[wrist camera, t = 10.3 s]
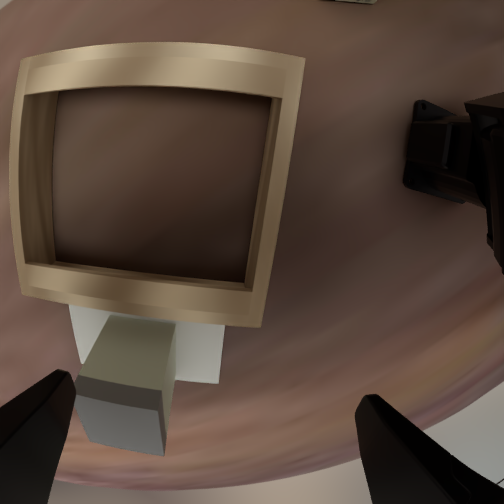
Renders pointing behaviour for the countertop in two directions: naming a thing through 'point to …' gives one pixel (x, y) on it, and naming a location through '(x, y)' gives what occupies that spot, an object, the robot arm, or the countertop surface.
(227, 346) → the countertop surface
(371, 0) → the skincare box
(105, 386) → the sage box
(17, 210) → the wooden frame
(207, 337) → the grey mat
